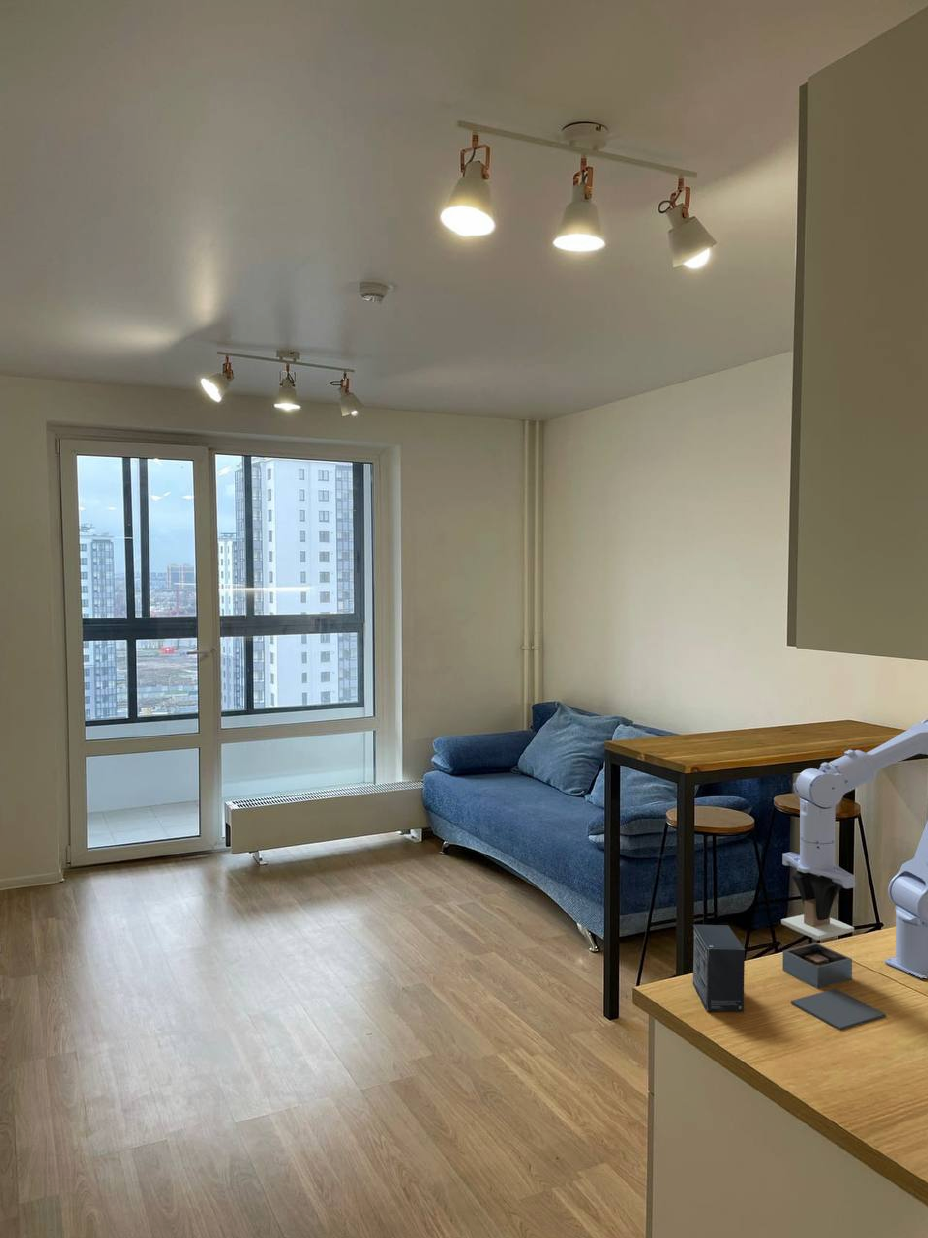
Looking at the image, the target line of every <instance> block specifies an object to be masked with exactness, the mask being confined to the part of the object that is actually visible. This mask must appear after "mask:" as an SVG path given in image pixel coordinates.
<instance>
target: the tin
mask: <svg viewBox="0 0 928 1238" xmlns="http://www.w3.org/2000/svg"><path fill="white" fill-rule="evenodd" d="M781 967H782V968H781V969H782V971H783V972H784V973H787V974H789V975H791V976H792V977H795V978H796V979H799V980H800V981H802V982H803V983H804V982H805V983H806V984H808V985H810V986H813V987H814V988H816V989H820V988H823V987H827V986H831V985H832V986H833V985H834V984H839V983H842V982H846V981H849V980H852V979H853V959H852V958H851V957H849V956H847V955H844V954H842V953H840V952H838V951H836V950H834V949H831V948H830V947H828V946H825V945H823V944H821V943H818V942H813V943H808V944H805V945H800V946H796V947H792V948H788V949H784V950H782V964H781Z"/></svg>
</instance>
